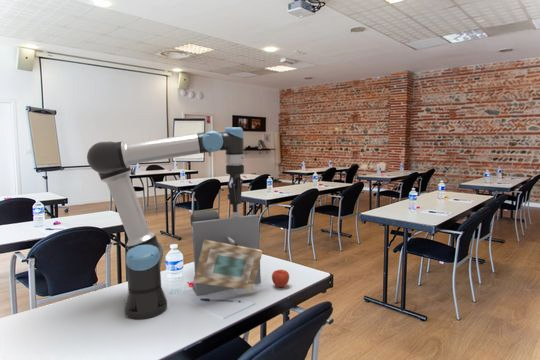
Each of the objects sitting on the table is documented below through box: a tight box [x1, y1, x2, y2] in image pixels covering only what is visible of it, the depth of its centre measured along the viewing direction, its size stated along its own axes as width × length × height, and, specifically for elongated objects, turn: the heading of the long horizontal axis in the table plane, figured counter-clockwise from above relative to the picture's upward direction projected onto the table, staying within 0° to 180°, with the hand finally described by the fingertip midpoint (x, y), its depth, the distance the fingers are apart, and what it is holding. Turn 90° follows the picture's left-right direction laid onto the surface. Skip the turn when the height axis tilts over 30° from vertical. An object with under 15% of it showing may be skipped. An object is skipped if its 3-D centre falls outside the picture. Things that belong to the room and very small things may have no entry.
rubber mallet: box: [189, 210, 220, 227], centre depth 171 cm, size 12×8×30 cm, turn 120°
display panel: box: [191, 214, 262, 296], centre depth 153 cm, size 28×15×30 cm, turn 114°
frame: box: [193, 240, 263, 291], centre depth 143 cm, size 24×4×18 cm, turn 114°
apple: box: [271, 269, 290, 288], centre depth 155 cm, size 7×7×8 cm
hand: (236, 219), depth 157 cm, fingers closed
